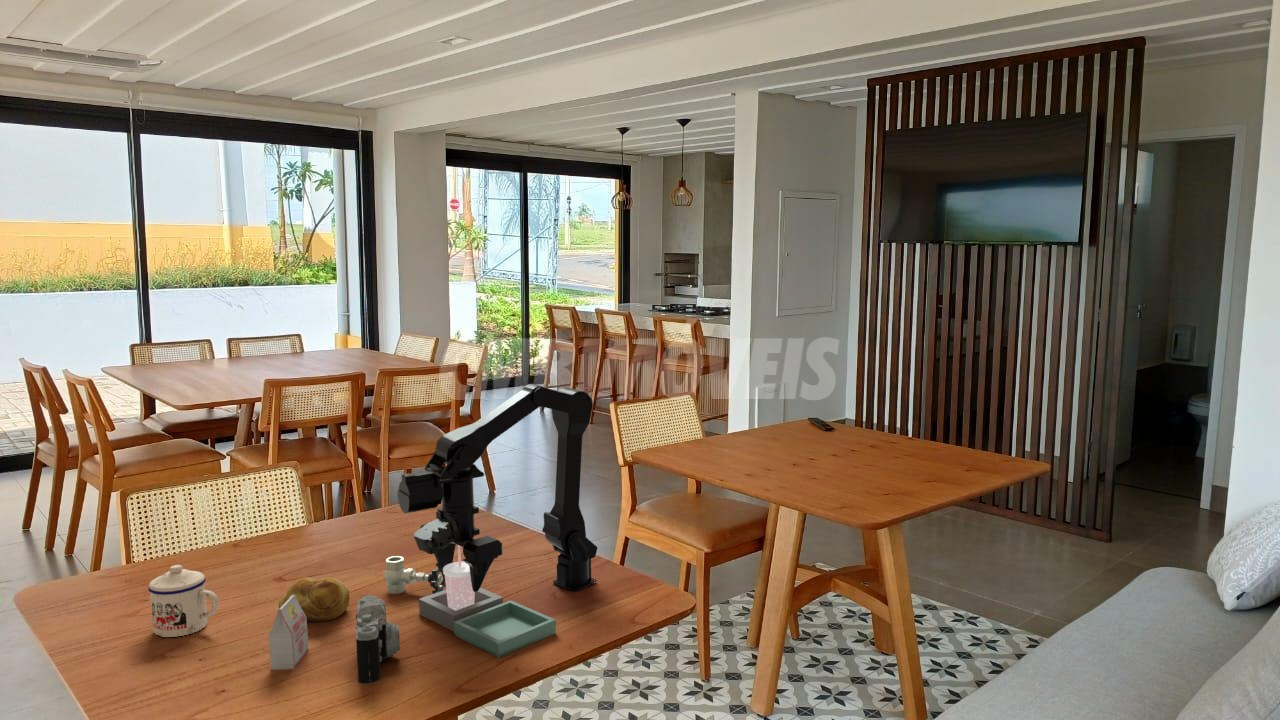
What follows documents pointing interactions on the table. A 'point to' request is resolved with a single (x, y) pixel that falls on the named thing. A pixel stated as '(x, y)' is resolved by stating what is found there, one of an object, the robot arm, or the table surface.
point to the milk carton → (288, 636)
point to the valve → (409, 576)
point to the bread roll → (319, 597)
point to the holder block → (445, 616)
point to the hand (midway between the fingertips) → (460, 584)
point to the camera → (373, 638)
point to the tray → (504, 628)
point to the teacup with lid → (180, 602)
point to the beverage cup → (458, 584)
